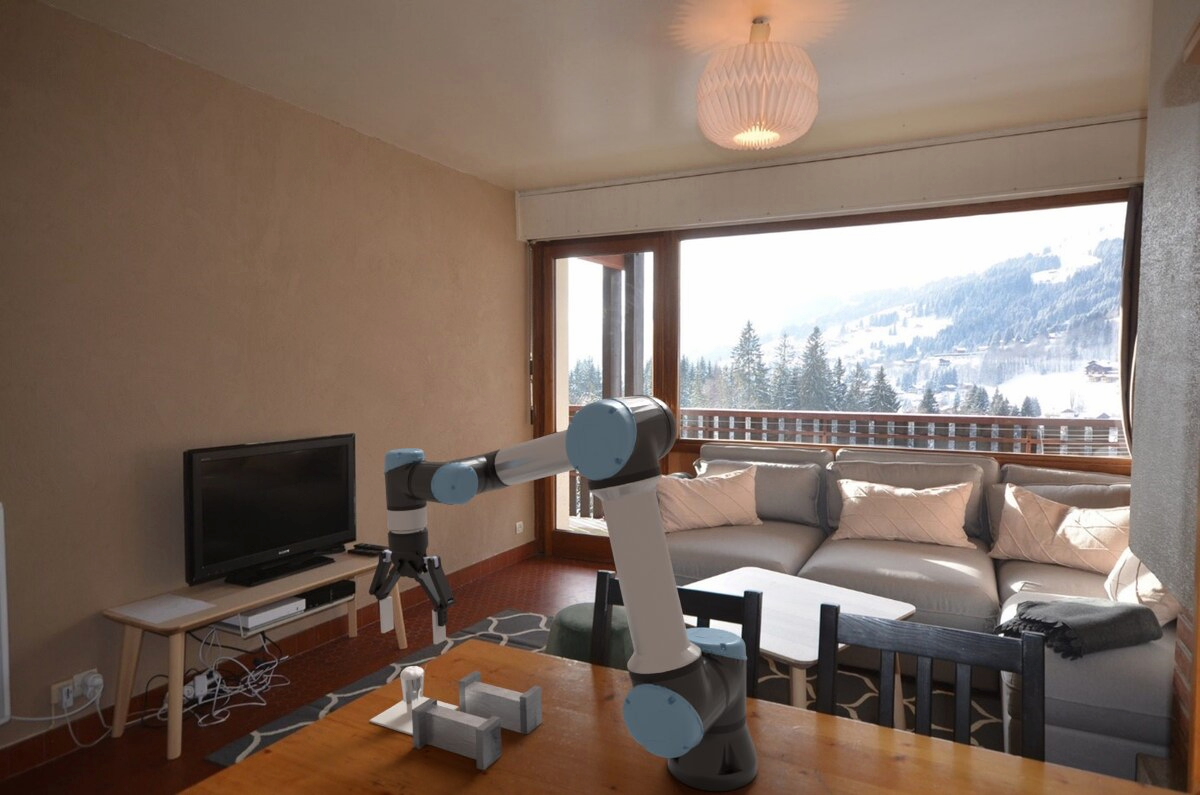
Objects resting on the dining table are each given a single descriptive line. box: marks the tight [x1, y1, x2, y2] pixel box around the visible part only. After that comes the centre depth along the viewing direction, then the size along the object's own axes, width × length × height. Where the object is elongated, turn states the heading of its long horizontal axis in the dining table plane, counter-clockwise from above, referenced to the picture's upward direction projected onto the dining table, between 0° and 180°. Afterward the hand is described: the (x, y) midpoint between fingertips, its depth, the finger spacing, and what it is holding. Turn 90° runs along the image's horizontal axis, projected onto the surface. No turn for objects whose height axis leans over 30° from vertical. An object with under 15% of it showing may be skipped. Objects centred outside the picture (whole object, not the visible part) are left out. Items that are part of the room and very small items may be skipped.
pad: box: [369, 696, 460, 736], centre depth 145 cm, size 12×12×1 cm
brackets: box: [412, 670, 543, 771], centre depth 137 cm, size 16×18×7 cm
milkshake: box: [399, 664, 428, 717], centre depth 144 cm, size 4×5×10 cm
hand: (413, 636), depth 143 cm, fingers open, 13 cm apart
